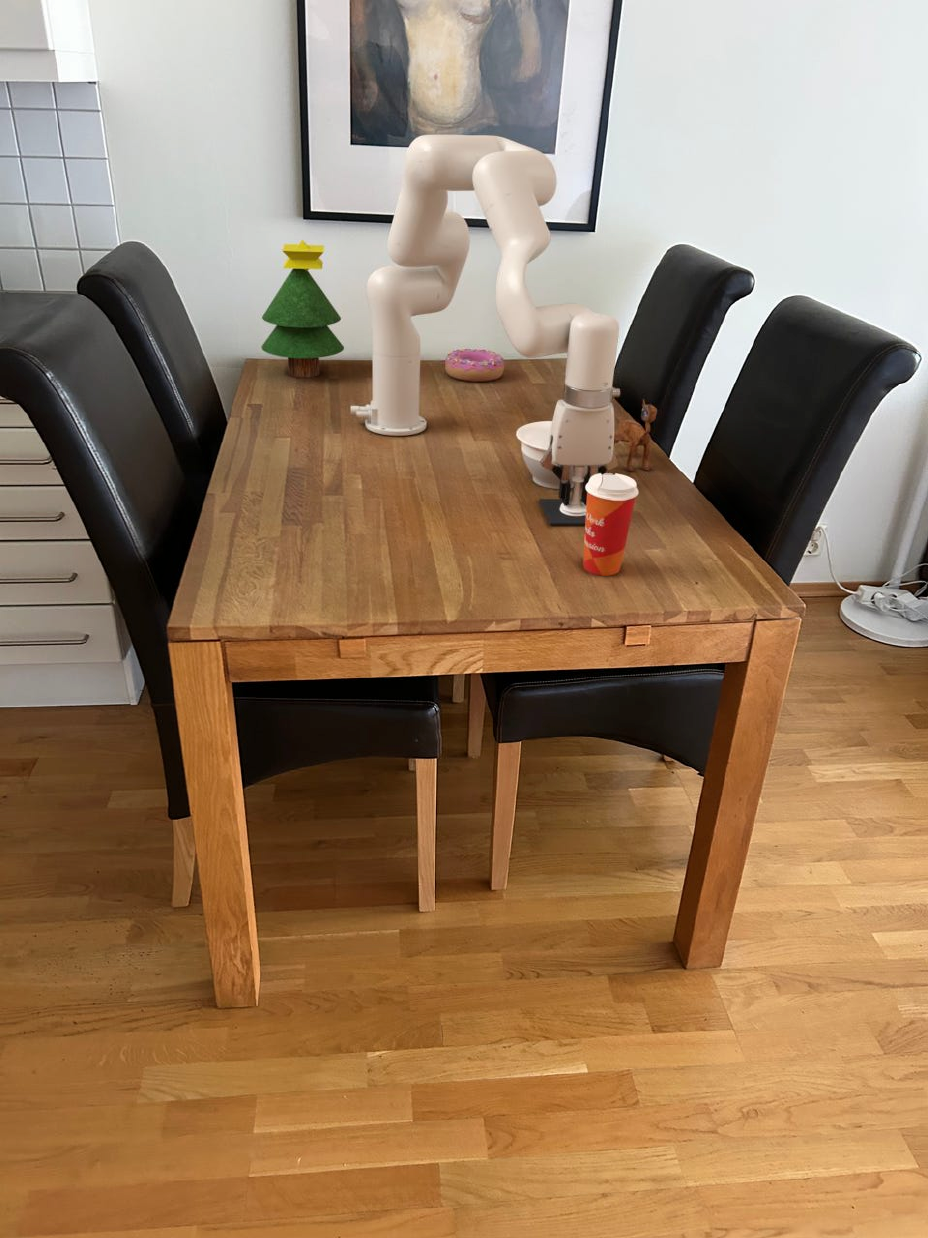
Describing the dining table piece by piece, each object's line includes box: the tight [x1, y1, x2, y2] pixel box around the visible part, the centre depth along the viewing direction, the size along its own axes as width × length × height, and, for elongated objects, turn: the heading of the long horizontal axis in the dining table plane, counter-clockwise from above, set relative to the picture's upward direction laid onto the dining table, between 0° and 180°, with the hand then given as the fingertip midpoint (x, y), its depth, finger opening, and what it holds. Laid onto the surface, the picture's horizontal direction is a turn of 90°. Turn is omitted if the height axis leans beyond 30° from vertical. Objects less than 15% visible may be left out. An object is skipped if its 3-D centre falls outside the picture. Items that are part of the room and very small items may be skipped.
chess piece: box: [560, 466, 586, 516], centre depth 156 cm, size 5×5×10 cm
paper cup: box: [582, 472, 639, 577], centre depth 138 cm, size 8×8×14 cm
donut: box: [444, 348, 505, 383], centre depth 227 cm, size 14×14×5 cm
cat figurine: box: [614, 398, 658, 472], centre depth 180 cm, size 18×7×14 cm, turn 15°
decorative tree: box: [261, 239, 345, 378], centre depth 216 cm, size 19×19×30 cm
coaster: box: [539, 498, 586, 527], centre depth 159 cm, size 10×10×1 cm
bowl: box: [516, 420, 587, 490], centre depth 170 cm, size 16×16×9 cm
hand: (574, 501), depth 158 cm, fingers closed
